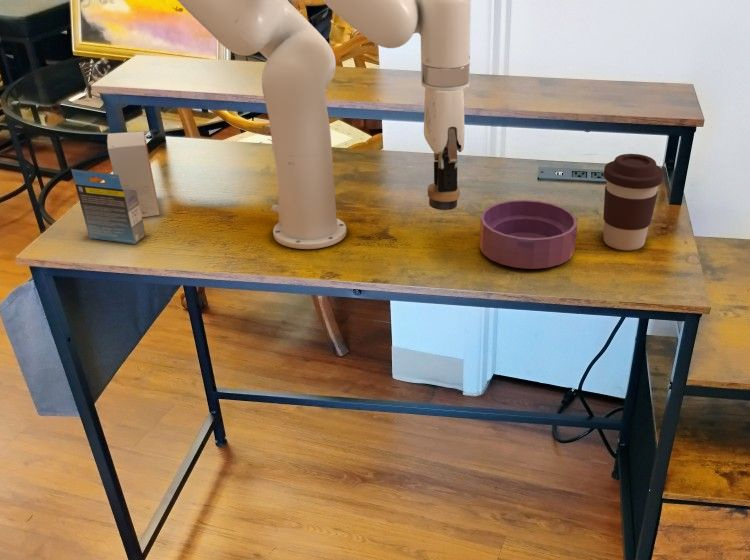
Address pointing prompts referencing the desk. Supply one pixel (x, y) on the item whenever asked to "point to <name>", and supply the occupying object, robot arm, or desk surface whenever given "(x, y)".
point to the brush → (442, 196)
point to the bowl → (527, 234)
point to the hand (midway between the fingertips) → (445, 186)
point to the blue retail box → (109, 208)
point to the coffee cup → (629, 200)
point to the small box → (134, 168)
